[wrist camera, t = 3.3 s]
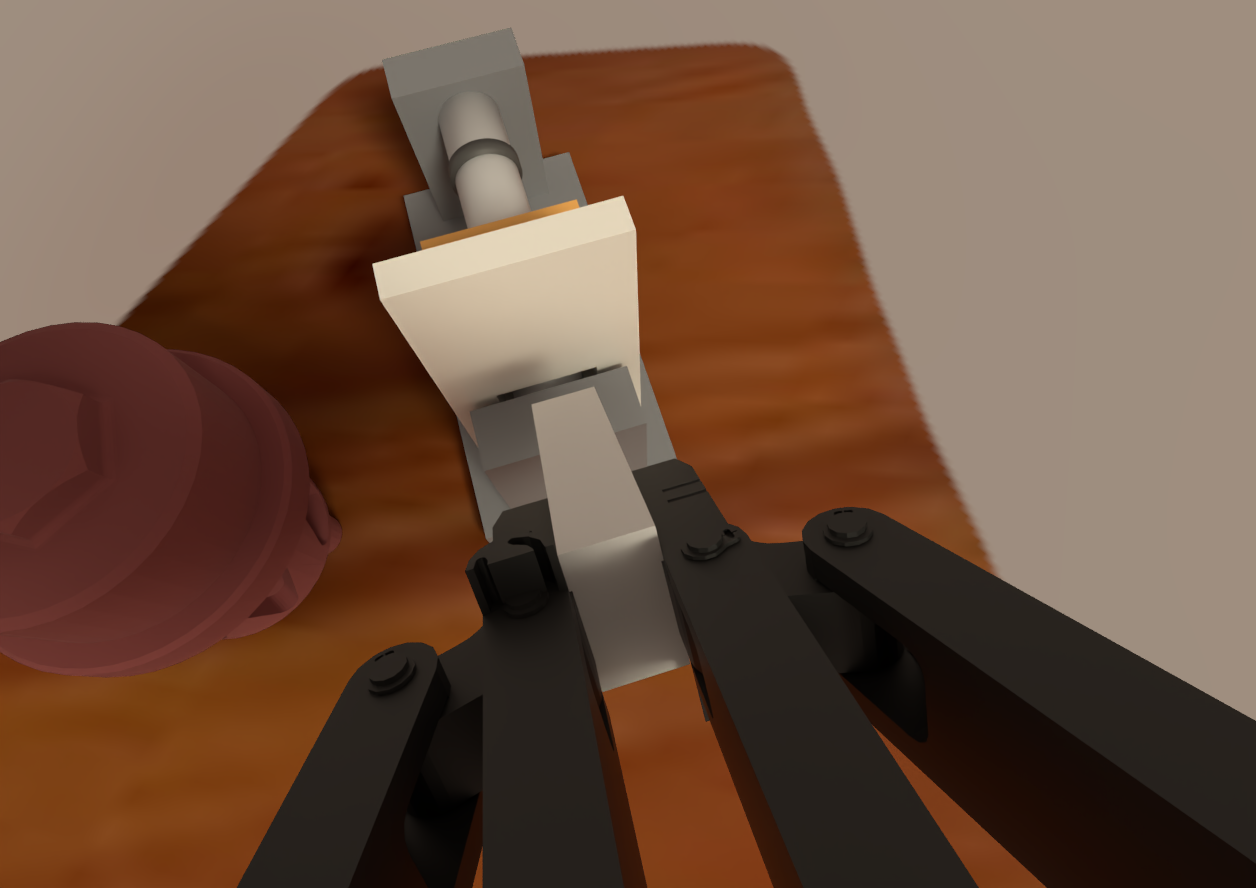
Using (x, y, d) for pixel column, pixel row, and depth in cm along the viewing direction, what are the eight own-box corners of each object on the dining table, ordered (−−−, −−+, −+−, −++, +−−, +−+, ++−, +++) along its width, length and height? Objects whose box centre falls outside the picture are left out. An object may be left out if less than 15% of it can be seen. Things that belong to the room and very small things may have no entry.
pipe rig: (682, 487, 29) (694, 408, 21) (492, 545, 29) (434, 486, 21) (571, 169, 35) (549, 18, 27) (411, 212, 34) (342, 69, 27)
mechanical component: (237, 743, 26) (87, 563, 29) (436, 543, 29) (282, 393, 31) (-87, 771, 15) (-291, 467, 17) (291, 432, 17) (64, 208, 20)
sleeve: (641, 424, 28) (635, 229, 16) (492, 469, 27) (380, 299, 16) (612, 338, 29) (587, 102, 18) (469, 379, 29) (351, 164, 17)
